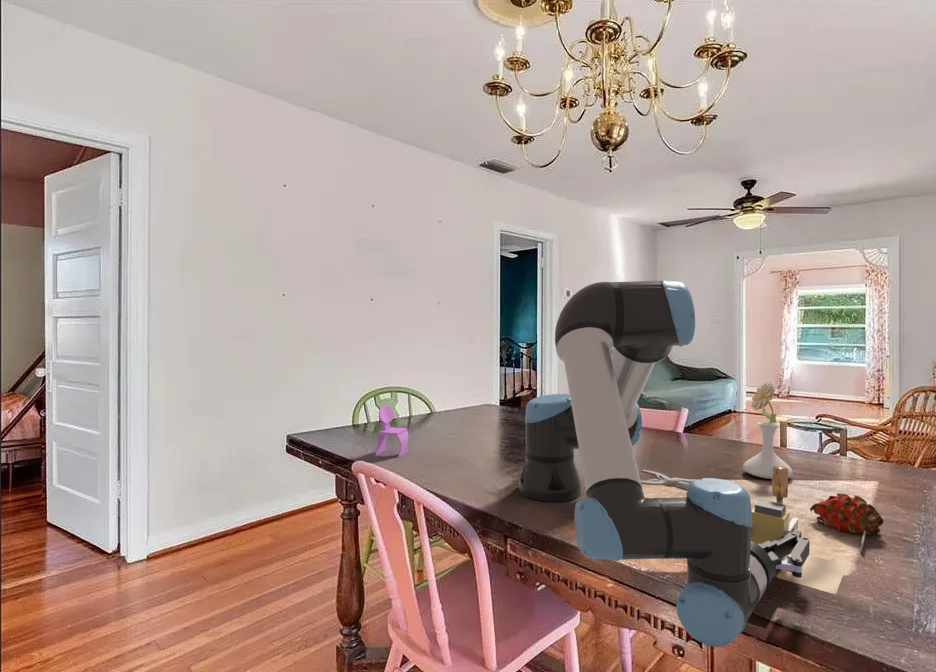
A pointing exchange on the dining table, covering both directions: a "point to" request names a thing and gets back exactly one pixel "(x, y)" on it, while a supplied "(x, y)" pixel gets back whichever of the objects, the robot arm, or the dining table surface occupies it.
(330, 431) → the dining table surface
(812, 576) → the plank
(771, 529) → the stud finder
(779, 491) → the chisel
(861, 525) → the dragon fruit
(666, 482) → the pliers
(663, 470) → the dining table surface
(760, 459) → the flower in vase
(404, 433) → the toy chair
